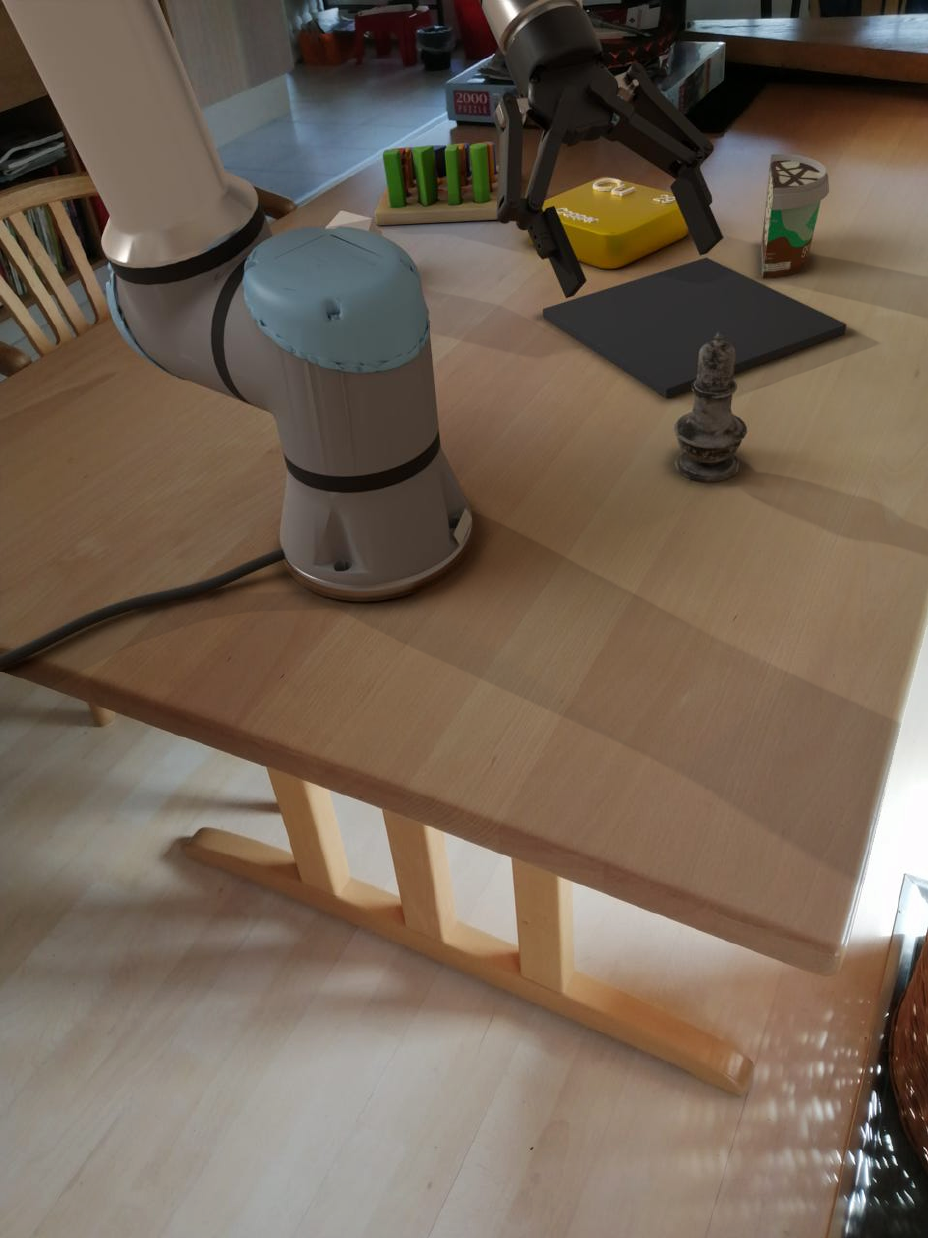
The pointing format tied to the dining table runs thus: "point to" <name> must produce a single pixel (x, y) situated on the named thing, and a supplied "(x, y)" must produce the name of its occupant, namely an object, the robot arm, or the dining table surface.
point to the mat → (690, 323)
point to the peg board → (439, 184)
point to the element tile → (617, 221)
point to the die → (354, 222)
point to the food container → (791, 212)
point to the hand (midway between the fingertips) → (645, 268)
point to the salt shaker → (711, 418)
